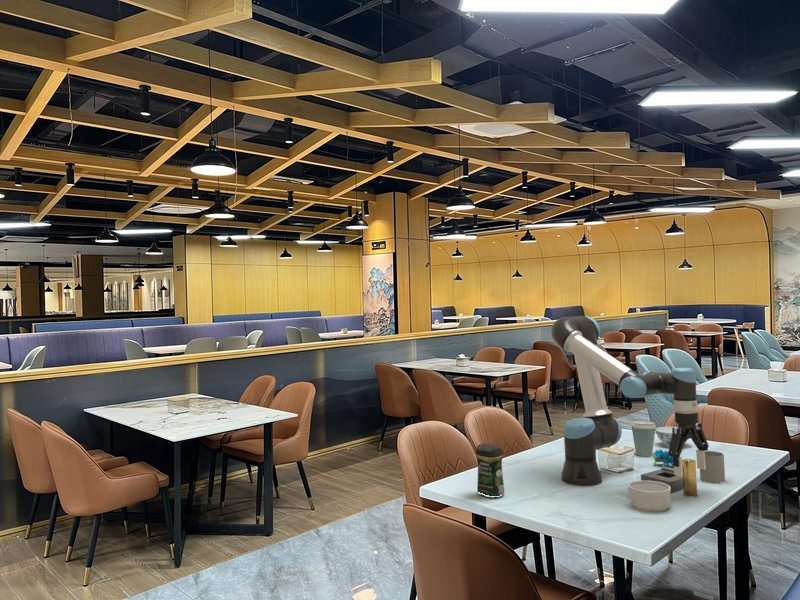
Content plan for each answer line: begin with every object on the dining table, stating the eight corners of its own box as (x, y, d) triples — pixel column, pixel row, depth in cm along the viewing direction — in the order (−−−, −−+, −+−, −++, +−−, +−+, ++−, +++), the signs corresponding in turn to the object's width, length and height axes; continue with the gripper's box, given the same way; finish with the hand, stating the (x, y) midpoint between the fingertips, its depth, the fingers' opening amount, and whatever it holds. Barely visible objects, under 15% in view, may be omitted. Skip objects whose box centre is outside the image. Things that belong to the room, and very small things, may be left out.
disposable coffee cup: (628, 452, 266) (626, 419, 267) (652, 451, 266) (650, 419, 266) (636, 458, 256) (635, 424, 256) (661, 457, 255) (660, 423, 256)
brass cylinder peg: (692, 497, 202) (690, 462, 202) (680, 494, 206) (679, 460, 206) (700, 494, 204) (698, 460, 204) (688, 491, 208) (686, 458, 208)
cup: (711, 484, 215) (710, 457, 216) (695, 478, 223) (693, 452, 224) (730, 481, 218) (728, 454, 218) (713, 475, 226) (711, 450, 226)
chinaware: (665, 441, 285) (664, 425, 285) (696, 445, 274) (695, 429, 274) (650, 446, 276) (649, 430, 276) (682, 451, 264) (681, 434, 264)
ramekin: (622, 507, 195) (621, 486, 195) (639, 497, 204) (637, 477, 205) (662, 516, 186) (661, 494, 186) (678, 505, 195) (677, 484, 195)
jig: (670, 493, 207) (669, 480, 207) (641, 485, 217) (640, 473, 218) (693, 485, 214) (693, 473, 214) (664, 478, 225) (663, 466, 225)
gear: (685, 463, 238) (671, 448, 236) (680, 475, 236) (666, 460, 233) (662, 461, 248) (648, 447, 246) (657, 473, 245) (643, 459, 243)
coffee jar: (473, 495, 214) (471, 444, 215) (487, 490, 220) (485, 440, 220) (494, 500, 207) (492, 448, 208) (508, 495, 213) (505, 444, 213)
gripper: (674, 417, 196) (678, 480, 195) (716, 408, 209) (720, 467, 208) (654, 415, 202) (658, 476, 202) (696, 406, 215) (700, 464, 214)
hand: (690, 472), depth 205 cm, fingers open, 13 cm apart
